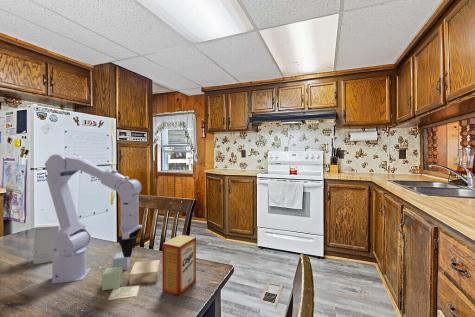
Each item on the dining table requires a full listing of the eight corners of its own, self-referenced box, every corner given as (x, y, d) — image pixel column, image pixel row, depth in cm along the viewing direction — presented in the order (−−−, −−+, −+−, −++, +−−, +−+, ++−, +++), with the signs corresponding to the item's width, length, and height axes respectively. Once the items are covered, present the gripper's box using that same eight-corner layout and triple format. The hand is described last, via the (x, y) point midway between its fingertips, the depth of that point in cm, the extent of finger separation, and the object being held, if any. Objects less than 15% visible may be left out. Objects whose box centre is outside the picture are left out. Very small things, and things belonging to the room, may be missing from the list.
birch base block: (129, 286, 78) (129, 274, 78) (134, 272, 87) (134, 262, 87) (157, 282, 81) (157, 271, 80) (160, 270, 89) (160, 259, 89)
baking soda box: (180, 277, 84) (180, 233, 83) (195, 281, 81) (196, 235, 81) (162, 291, 75) (162, 242, 75) (179, 296, 72) (179, 245, 72)
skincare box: (33, 264, 92) (32, 227, 92) (39, 258, 98) (38, 223, 97) (58, 261, 95) (58, 225, 95) (63, 255, 101) (63, 221, 101)
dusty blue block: (112, 272, 87) (112, 258, 87) (116, 265, 92) (116, 253, 92) (127, 270, 88) (127, 257, 88) (130, 264, 93) (130, 252, 93)
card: (108, 300, 70) (108, 299, 70) (113, 289, 76) (113, 287, 76) (136, 297, 72) (136, 295, 72) (140, 286, 78) (139, 284, 78)
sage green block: (101, 290, 75) (102, 274, 75) (106, 283, 79) (106, 268, 80) (118, 288, 76) (119, 272, 76) (122, 281, 81) (122, 266, 81)
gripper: (138, 219, 76) (138, 260, 76) (144, 208, 90) (144, 243, 90) (115, 220, 74) (114, 262, 74) (124, 209, 88) (124, 244, 88)
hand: (129, 252), depth 82 cm, fingers open, 7 cm apart
